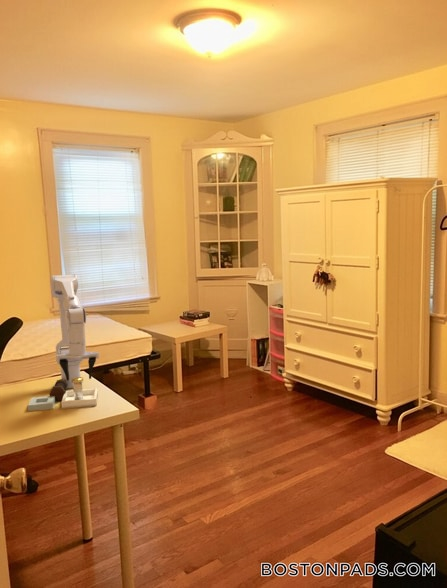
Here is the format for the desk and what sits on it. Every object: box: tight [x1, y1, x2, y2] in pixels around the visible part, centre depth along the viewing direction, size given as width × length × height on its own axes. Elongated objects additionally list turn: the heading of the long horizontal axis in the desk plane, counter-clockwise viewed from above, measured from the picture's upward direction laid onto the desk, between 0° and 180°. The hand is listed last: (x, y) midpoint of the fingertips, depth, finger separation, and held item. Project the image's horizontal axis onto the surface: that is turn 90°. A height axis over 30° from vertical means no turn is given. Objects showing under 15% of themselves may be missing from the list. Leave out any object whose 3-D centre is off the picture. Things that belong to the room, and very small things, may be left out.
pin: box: [72, 376, 84, 400], centre depth 175 cm, size 4×4×8 cm
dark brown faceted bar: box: [48, 378, 68, 402], centre depth 184 cm, size 6×5×15 cm
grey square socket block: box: [27, 395, 56, 412], centre depth 172 cm, size 8×8×2 cm
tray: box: [61, 387, 99, 410], centre depth 176 cm, size 12×12×2 cm
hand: (79, 378), depth 175 cm, fingers open, 7 cm apart
